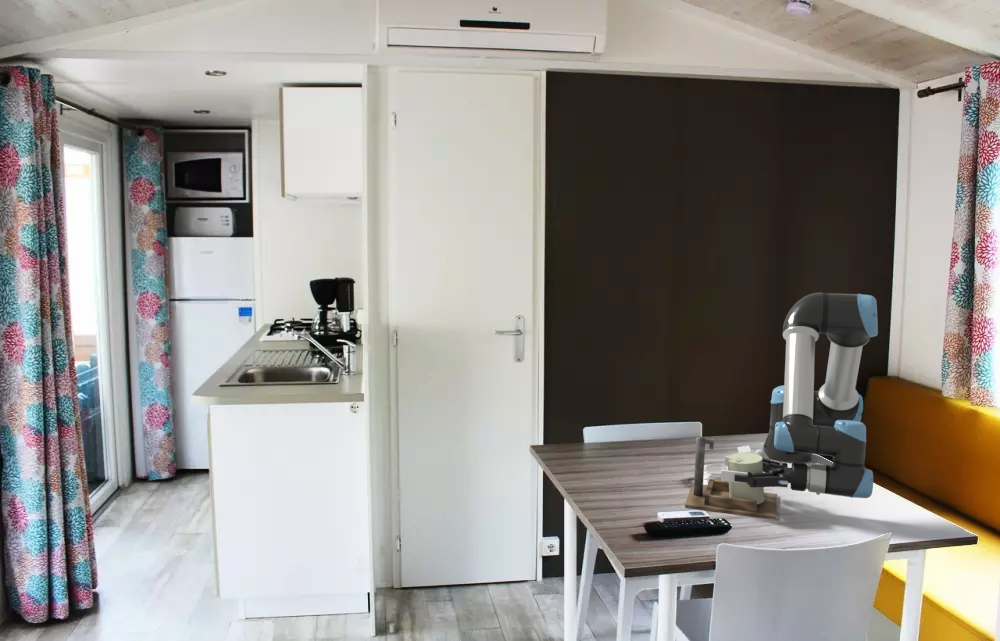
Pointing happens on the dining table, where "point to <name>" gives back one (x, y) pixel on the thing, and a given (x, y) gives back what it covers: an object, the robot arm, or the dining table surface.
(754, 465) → the can
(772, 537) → the dining table surface
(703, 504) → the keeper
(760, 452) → the wall hook
